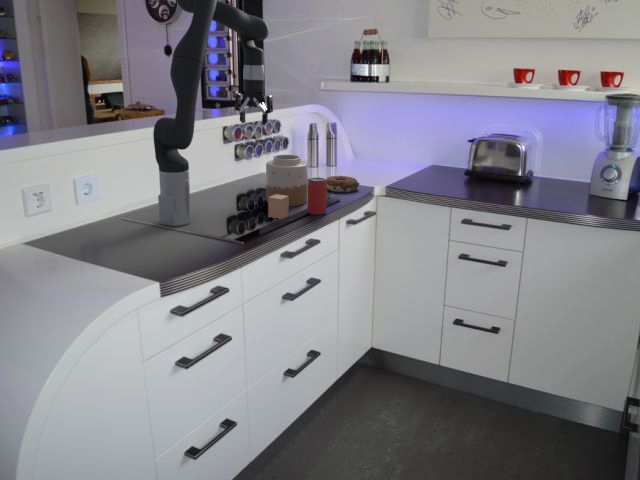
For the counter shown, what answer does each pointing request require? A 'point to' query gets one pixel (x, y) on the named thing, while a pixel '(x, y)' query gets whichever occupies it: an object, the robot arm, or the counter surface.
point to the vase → (287, 178)
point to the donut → (341, 183)
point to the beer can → (317, 196)
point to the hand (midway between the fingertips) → (253, 123)
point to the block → (278, 206)
